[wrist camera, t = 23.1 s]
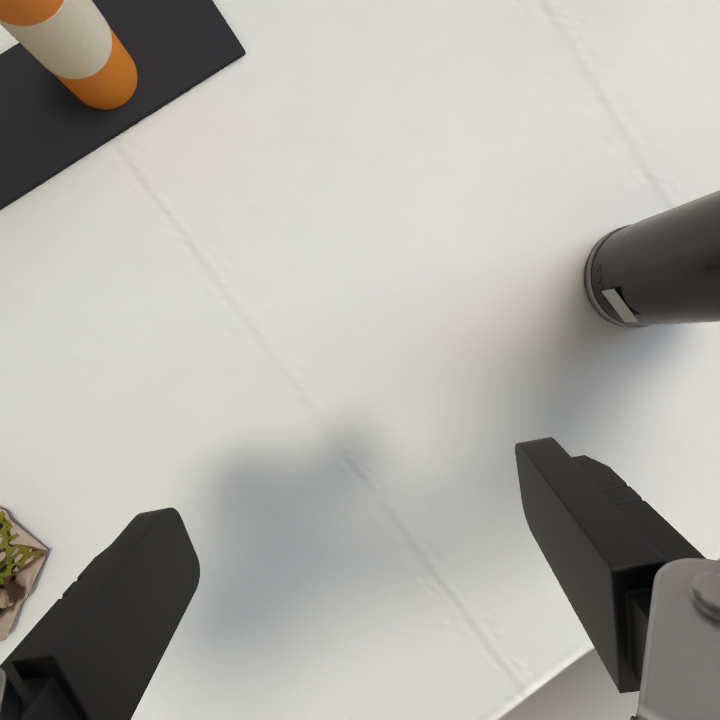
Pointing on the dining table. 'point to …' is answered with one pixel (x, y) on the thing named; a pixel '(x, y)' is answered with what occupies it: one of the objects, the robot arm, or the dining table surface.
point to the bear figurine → (16, 569)
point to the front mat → (97, 126)
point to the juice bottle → (74, 47)
